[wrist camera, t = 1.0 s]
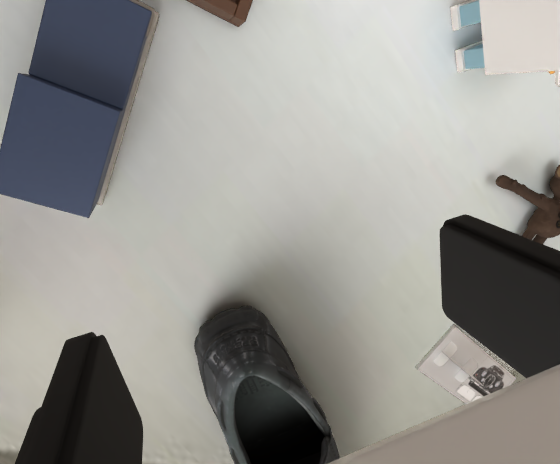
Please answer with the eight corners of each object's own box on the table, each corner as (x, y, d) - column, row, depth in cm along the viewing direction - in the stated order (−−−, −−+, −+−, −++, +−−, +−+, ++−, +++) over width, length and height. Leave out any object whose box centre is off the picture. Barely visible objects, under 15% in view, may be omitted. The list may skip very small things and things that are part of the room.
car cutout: (414, 366, 46) (439, 393, 42) (453, 324, 45) (482, 347, 41) (479, 413, 52) (506, 440, 48) (513, 376, 52) (544, 400, 48)
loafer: (280, 508, 47) (310, 610, 38) (149, 339, 35) (147, 427, 26) (353, 462, 48) (400, 549, 39) (251, 281, 36) (284, 346, 27)
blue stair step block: (14, 176, 28) (-18, 194, 23) (65, -30, 25) (41, -61, 20) (103, 201, 30) (92, 224, 25) (159, 16, 27) (159, -2, 22)
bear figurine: (459, 276, 39) (548, 139, 35) (433, 255, 43) (511, 130, 38) (567, 314, 46) (653, 204, 42) (537, 294, 50) (613, 191, 45)
